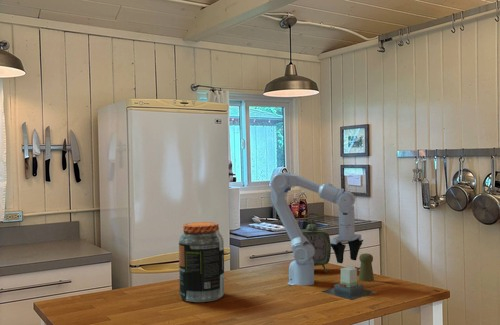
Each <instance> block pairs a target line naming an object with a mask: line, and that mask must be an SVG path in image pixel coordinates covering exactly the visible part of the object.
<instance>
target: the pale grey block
mask: <svg viewBox="0 0 500 325" xmlns="http://www.w3.org/2000/svg"><path fill="white" fill-rule="evenodd" d="M339 283H340V284H341V283H342V284H346V287H349V288H351V287H354V286H357V284H358V269H357V268H356V267H351V266H346V267H342V268H340V282H339Z"/></svg>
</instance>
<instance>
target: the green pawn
mask: <svg viewBox="0 0 500 325" xmlns="http://www.w3.org/2000/svg"><path fill="white" fill-rule="evenodd" d="M358 259H359V261H360V264H359V265H360V267H359V273H358V274H359V275H358V280H359V281H361V282H373V281H375V279H374V278H375V277H374V270H373V264H372V263H373V261H374V257H373V255H372V254H371V253H368V252H367V253H361V254H360V255H359V257H358Z"/></svg>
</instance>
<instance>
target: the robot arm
mask: <svg viewBox="0 0 500 325" xmlns="http://www.w3.org/2000/svg"><path fill="white" fill-rule="evenodd" d="M269 184H270V200H271V204H272V205H273V207H274V209H275V211H276V213H277V215H278V217H279V219H280V221H281V224H282V225H283V227H284V229H285V231H286V233H287V236H288V237H289V240H290V246H291V250H292V257H293V259H294V260H292V261H291V262H290V263H289V267H288V282H287V285H289V286H294V285H297V286H305V287H306V286H313V285H314V284H315V266H314V260H313V258H312V257H313V256H314V254H315V248H314V246H313V245H312V244H310V243H309V241H308V239H307V238H306V237H305V236H304V235H303V234H302V232H301V230H302V229H301V228H300V225H299V224H298V221H297V220H296V217H295V215H294V214H293V211H292V209H291V207H290V206H289V203H288V202H287V199H286V198H287V196H288V193H289V191H290V189H292V188H293V187H294V188H295V187H301V188H303V189H305V190H308V191H312V192H314V193H317V194H318V196H319V198H320V199H323V200H325V201H328V202H330V203H333V204H335V205H338V236H335V237H332V238H331V237H330V243H331V249H332V250H333V252H334V256H335V258H336V262H337V264H343V263H344V254H345V249H346V247H347V245H345V244H343V243H348V247H349V255H350V256H349V258H350V260H352V261H357V259H358V254H359V251H360V249H361V246H362V244H363V241H362V234H358V233H357V234H355V220H356V219H355V202H356V196H355V194H354V193H353V192H351V191H349V190H346V191H345V189H344V188H339V187H336V186H333V183H331V182H330V183H323V184H322V185H321V184H319V183H317V182H314V181H312V180H311V179H307V178H305V177H304V176H301V175H298V174H296V173H295V174H294V173H290V172H288V171H285V172H278V173H275V175H273V177H272V179H271V181H270V183H269Z"/></svg>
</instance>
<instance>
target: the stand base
mask: <svg viewBox="0 0 500 325" xmlns="http://www.w3.org/2000/svg"><path fill="white" fill-rule="evenodd" d="M320 292H321V293H325V294H327V295H328V294H329V295H332V296H335V297H339V298H343V299H346V300H349V301H354V300H357V299H360V298H363V297H367V296H371V295H373V294H377V293H378V292H377V291H373V290H370V289H365V288H364V285H363V284H361V283H357V286H354V287H351V288H349V287H346V284H342V283H341V284H340V282H338V283H336V284H333V288H328V289H325V290H321V291H320Z"/></svg>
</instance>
